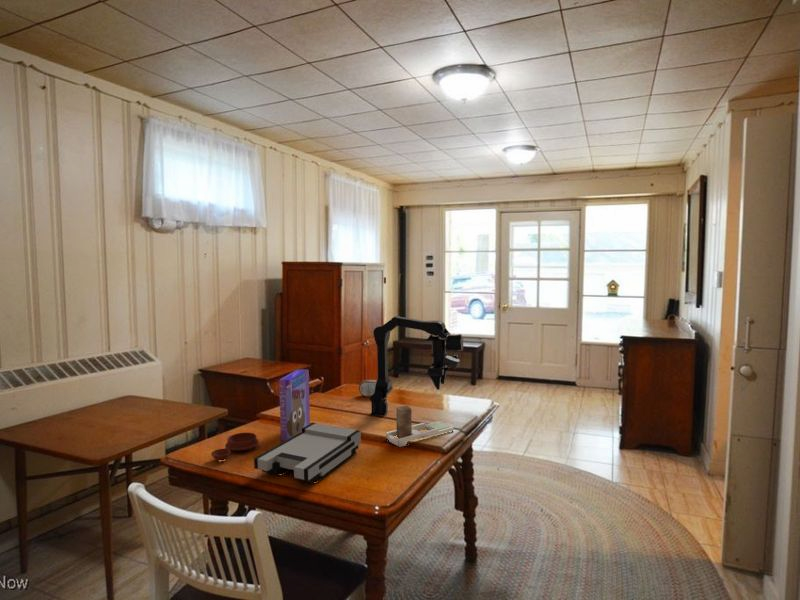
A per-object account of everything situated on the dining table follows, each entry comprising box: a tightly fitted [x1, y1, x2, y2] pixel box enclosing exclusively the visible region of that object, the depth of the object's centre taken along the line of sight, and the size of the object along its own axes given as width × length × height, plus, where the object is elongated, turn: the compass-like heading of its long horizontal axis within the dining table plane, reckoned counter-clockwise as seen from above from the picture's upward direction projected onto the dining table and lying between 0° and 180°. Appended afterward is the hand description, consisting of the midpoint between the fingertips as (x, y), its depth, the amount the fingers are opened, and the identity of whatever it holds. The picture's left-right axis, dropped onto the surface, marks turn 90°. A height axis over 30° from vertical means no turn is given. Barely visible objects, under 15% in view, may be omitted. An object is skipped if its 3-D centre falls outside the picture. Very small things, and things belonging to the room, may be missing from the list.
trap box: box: [385, 420, 455, 448], centre depth 189 cm, size 26×9×3 cm, turn 125°
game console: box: [253, 422, 362, 483], centre depth 164 cm, size 21×32×8 cm, turn 155°
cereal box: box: [278, 368, 311, 442], centre depth 192 cm, size 17×5×24 cm, turn 168°
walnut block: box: [395, 405, 413, 439], centre depth 184 cm, size 4×4×12 cm
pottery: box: [210, 432, 259, 461], centre depth 174 cm, size 12×20×4 cm, turn 159°
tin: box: [358, 379, 377, 398], centre depth 243 cm, size 15×3×8 cm, turn 84°
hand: (440, 386), depth 207 cm, fingers open, 9 cm apart
